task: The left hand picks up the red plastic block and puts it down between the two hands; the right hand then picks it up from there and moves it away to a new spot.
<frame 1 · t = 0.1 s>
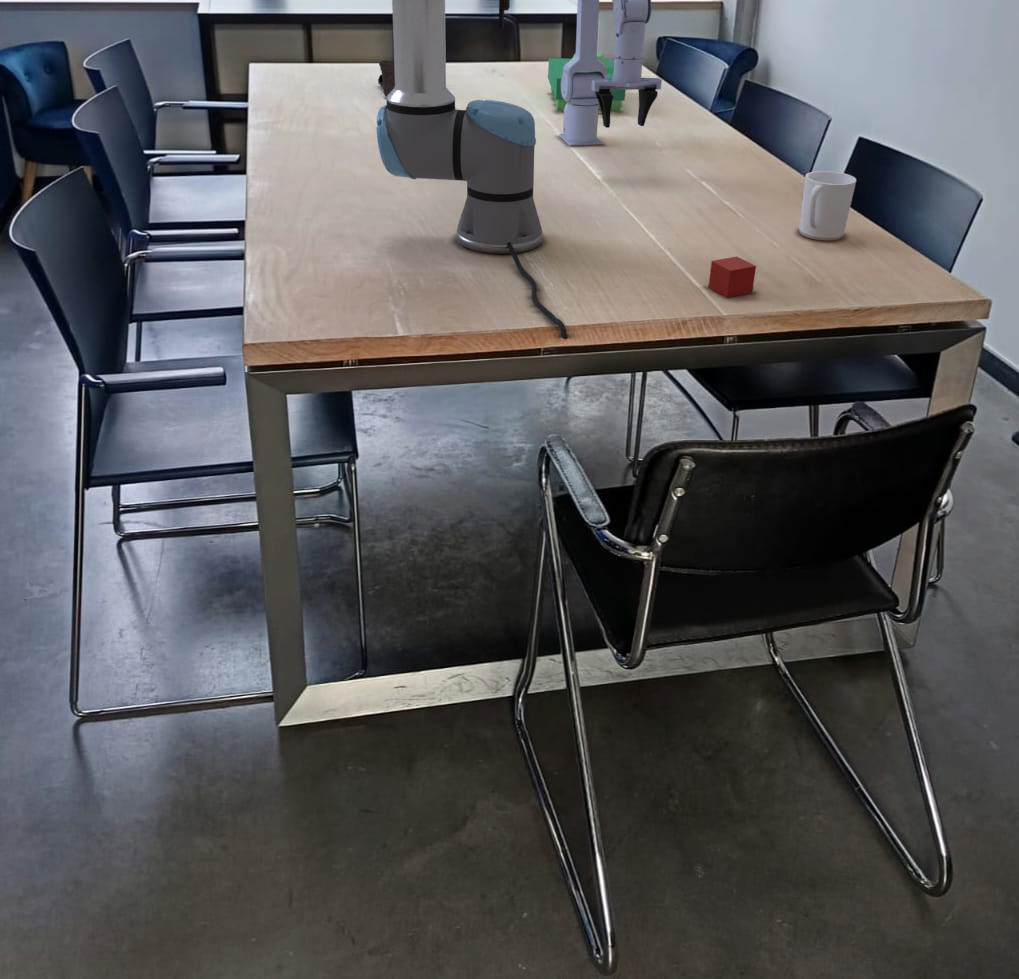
left hand: (468, 26, 224), 28 cm above the table, tool pointing down, fingers open, 13 cm apart
right hand: (623, 125, 229), 10 cm above the table, tool pointing down, fingers open, 7 cm apart
mug: (818, 235, 202), on the table
block: (730, 289, 177), on the table
axe head: (403, 91, 300), on the table
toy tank: (582, 99, 296), on the table
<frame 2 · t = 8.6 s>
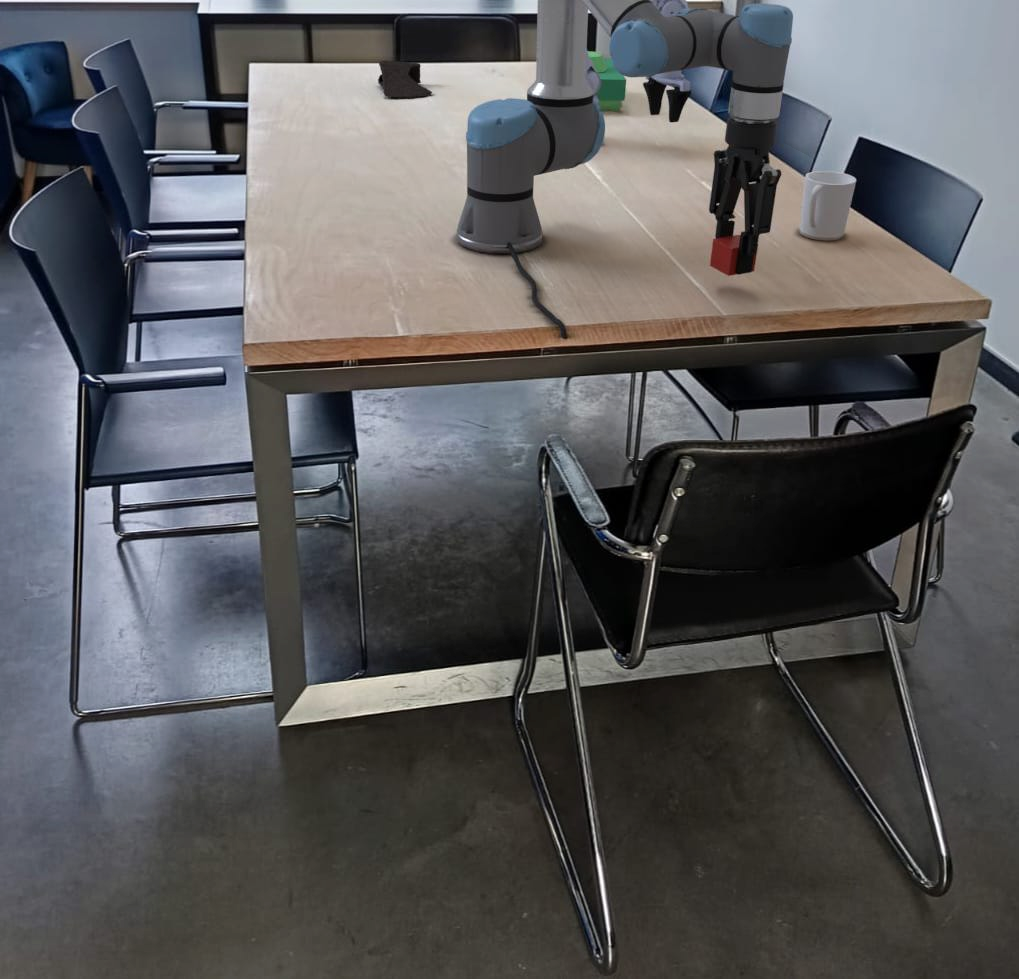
left hand: (732, 266, 175), 4 cm above the table, tool pointing down, fingers closed on block, 5 cm apart
right hand: (664, 118, 250), 7 cm above the table, tool pointing down, fingers open, 7 cm apart
block: (731, 268, 176), point 4 cm above the table, touching left hand
everything else where it was.
when the left hand's fingers open (0 cm above the table, at t = 19.1 s): block stays where it is, on the table.
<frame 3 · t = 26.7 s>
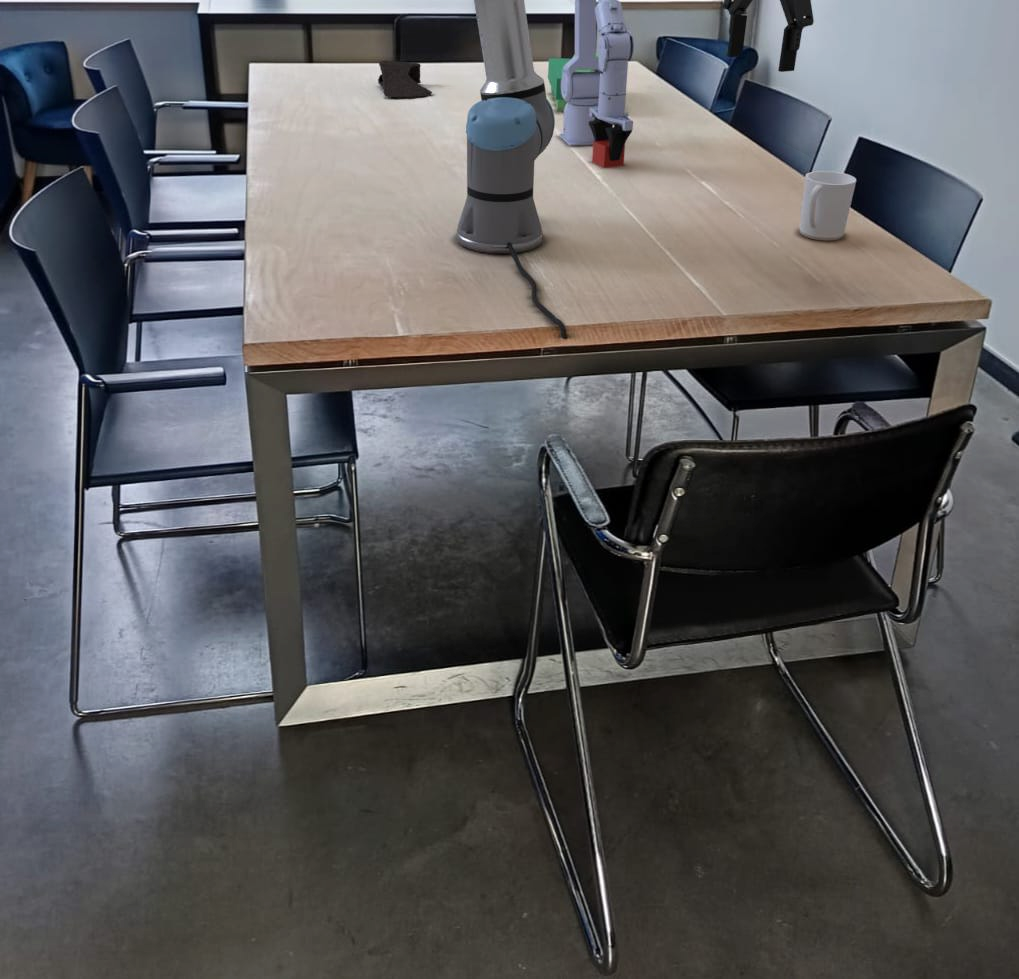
left hand: (759, 63, 184), 30 cm above the table, tool pointing down, fingers open, 13 cm apart
right hand: (608, 157, 240), 1 cm above the table, tool pointing down, fingers closed on block, 5 cm apart
block: (607, 163, 241), on the table, touching right hand
everything else where it was.
when the right hand's fingers open (2 cm above the table, at t = 31.7 s): block stays where it is, on the table.
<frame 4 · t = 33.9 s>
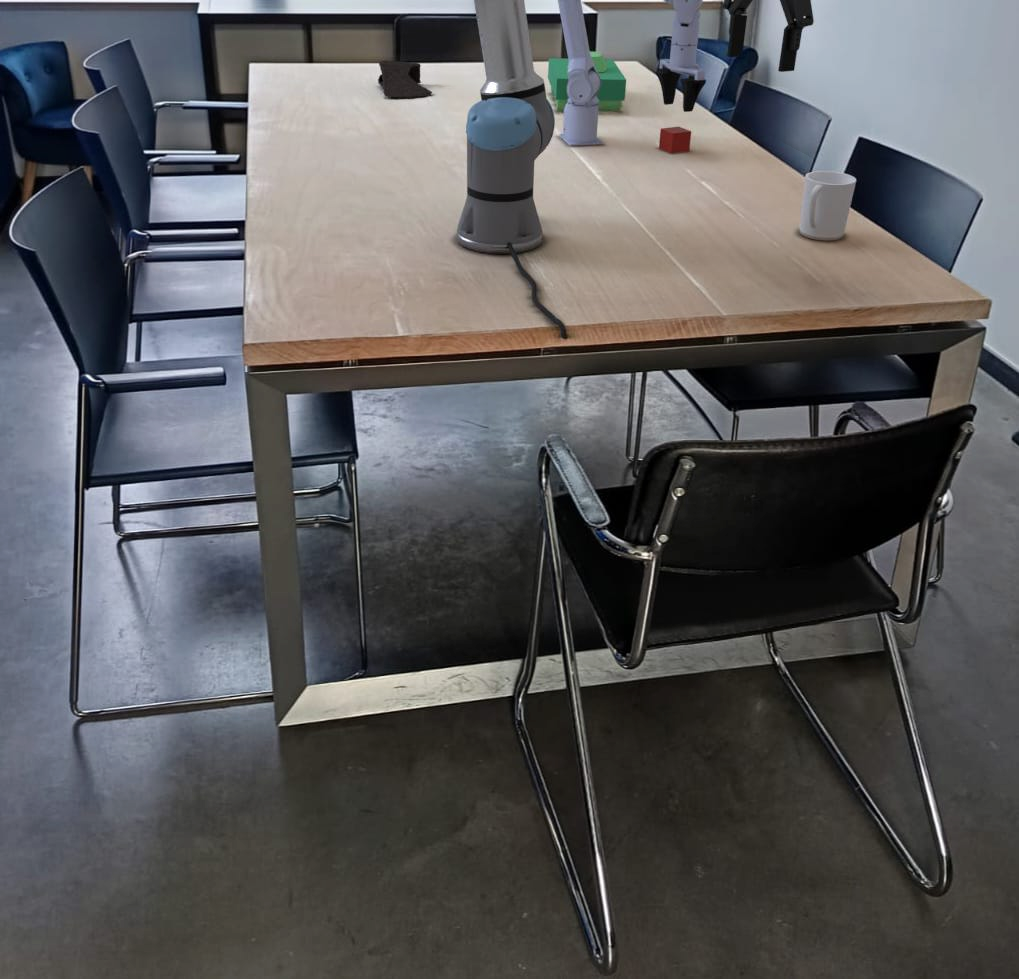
left hand: (759, 63, 184), 30 cm above the table, tool pointing down, fingers open, 13 cm apart
right hand: (678, 107, 248), 9 cm above the table, tool pointing down, fingers open, 7 cm apart
block: (674, 149, 253), on the table
everything else where it was.
at the end: block inside the target area (0.0 cm from its centre), on the table; block tilted 0°; the two hands never held the block at the same time; the left hand is holding nothing; the right hand is holding nothing; block at rest at the end (0.0 cm/s) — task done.
